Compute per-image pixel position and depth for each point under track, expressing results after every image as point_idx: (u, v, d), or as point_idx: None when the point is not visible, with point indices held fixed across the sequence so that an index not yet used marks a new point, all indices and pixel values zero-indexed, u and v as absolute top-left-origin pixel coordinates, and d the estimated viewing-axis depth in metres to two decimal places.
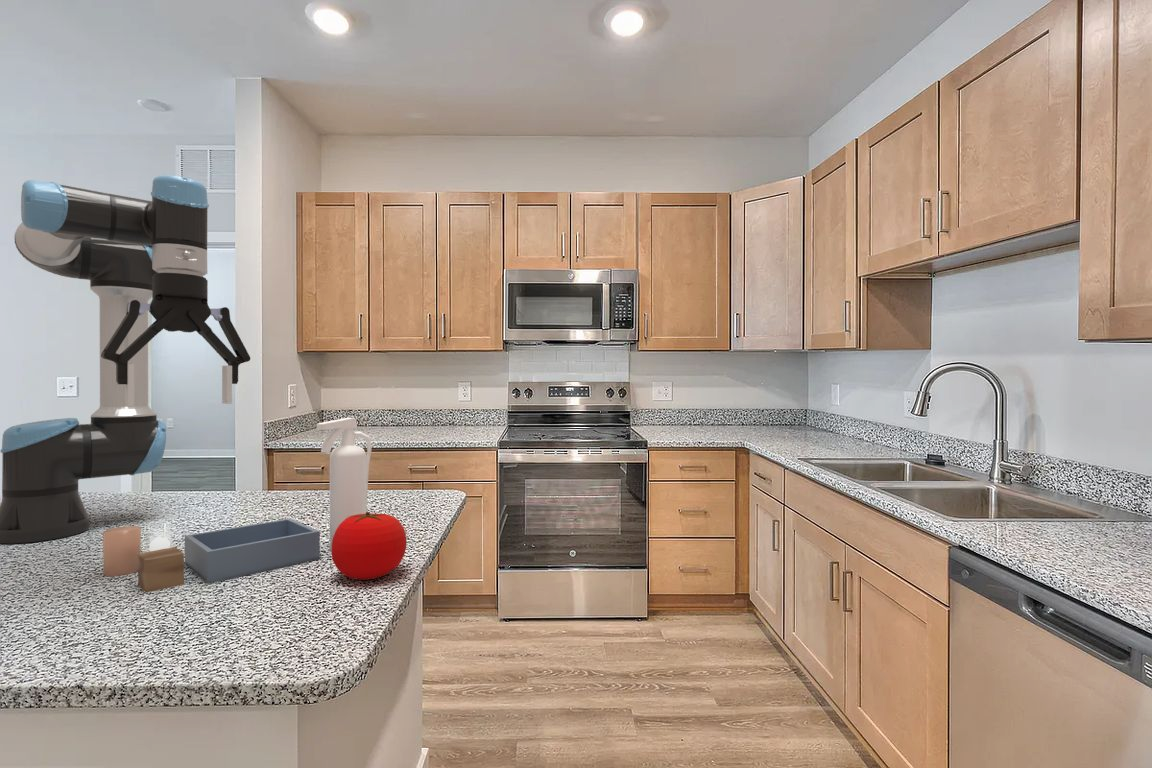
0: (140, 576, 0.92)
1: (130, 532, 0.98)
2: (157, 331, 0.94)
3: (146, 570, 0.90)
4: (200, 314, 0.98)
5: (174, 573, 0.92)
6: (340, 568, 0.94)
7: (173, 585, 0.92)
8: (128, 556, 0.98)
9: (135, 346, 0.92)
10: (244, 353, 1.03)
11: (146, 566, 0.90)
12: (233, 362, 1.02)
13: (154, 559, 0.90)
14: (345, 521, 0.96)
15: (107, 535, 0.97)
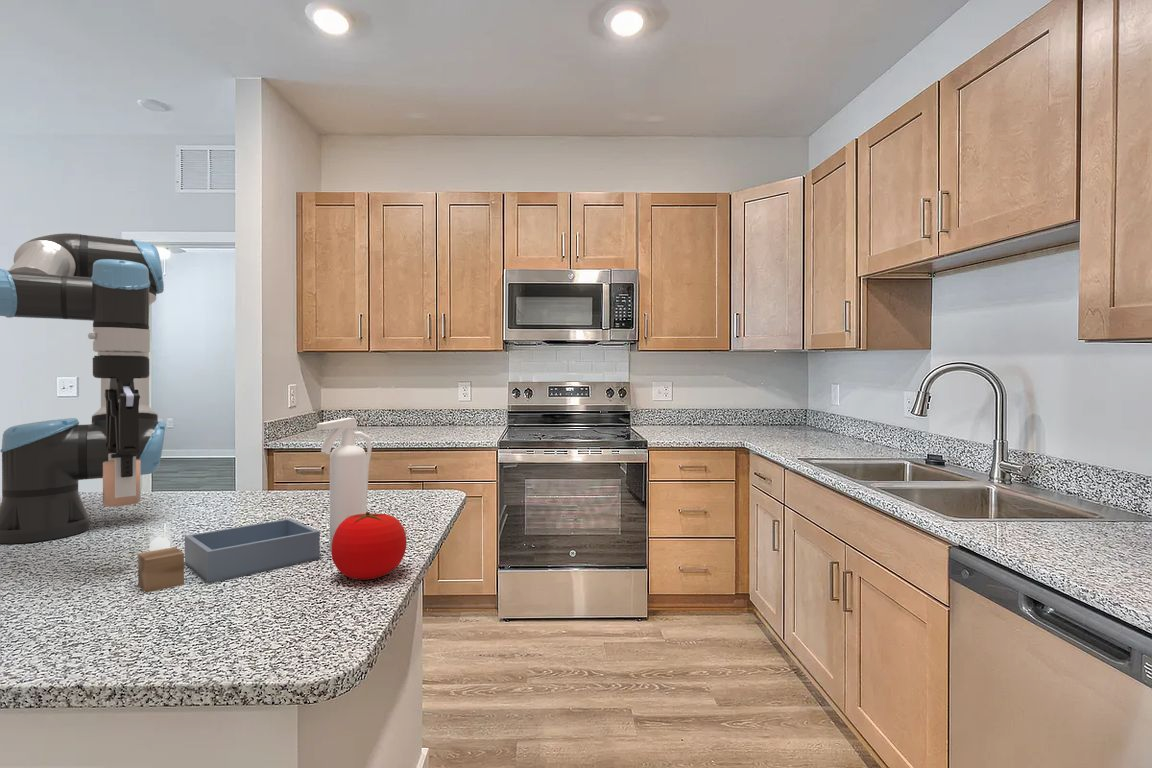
0: (140, 576, 0.92)
1: None
2: (109, 415, 0.99)
3: (146, 570, 0.90)
4: (116, 391, 0.96)
5: (174, 573, 0.92)
6: (340, 568, 0.94)
7: (173, 585, 0.92)
8: None
9: (109, 434, 1.00)
10: (119, 445, 0.94)
11: (146, 566, 0.90)
12: None
13: (154, 559, 0.90)
14: (345, 521, 0.96)
15: (107, 465, 0.97)
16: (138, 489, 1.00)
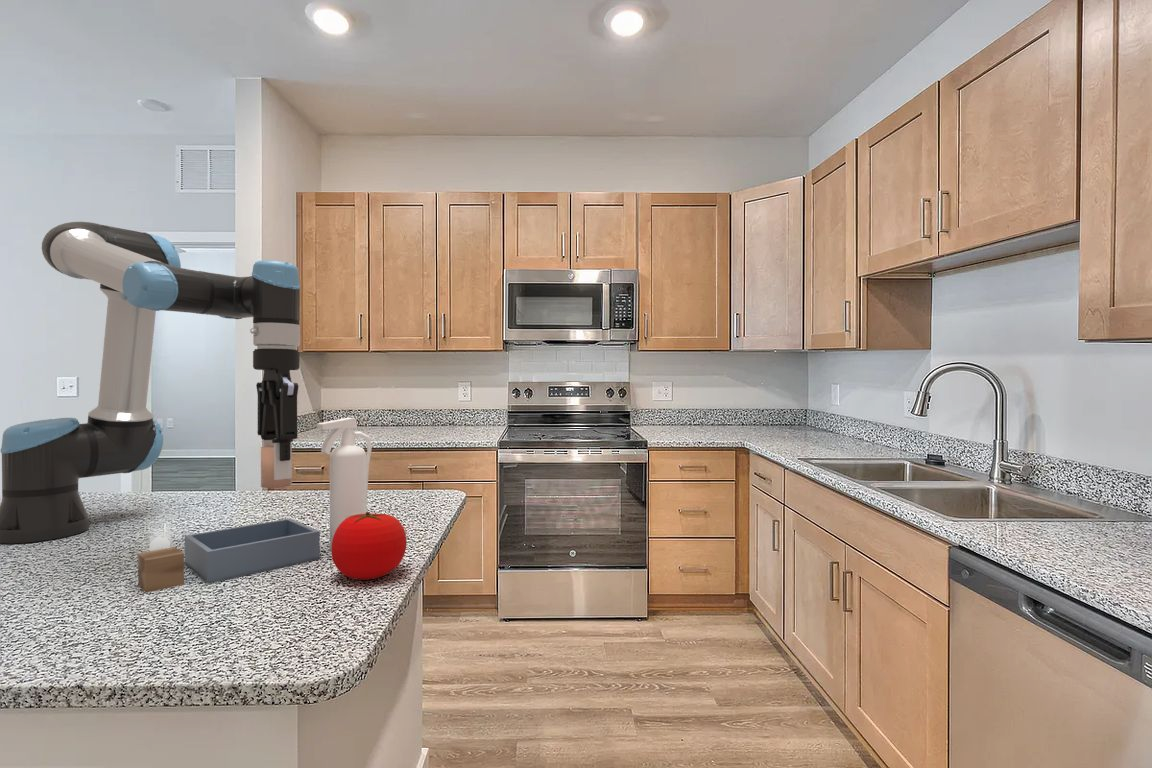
0: (140, 576, 0.92)
1: None
2: (264, 404, 1.07)
3: (146, 570, 0.90)
4: (275, 381, 1.05)
5: (174, 573, 0.92)
6: (340, 568, 0.94)
7: (173, 585, 0.92)
8: None
9: (263, 422, 1.09)
10: (281, 431, 1.02)
11: (146, 566, 0.90)
12: None
13: (154, 559, 0.90)
14: (345, 521, 0.96)
15: (266, 449, 1.05)
16: None
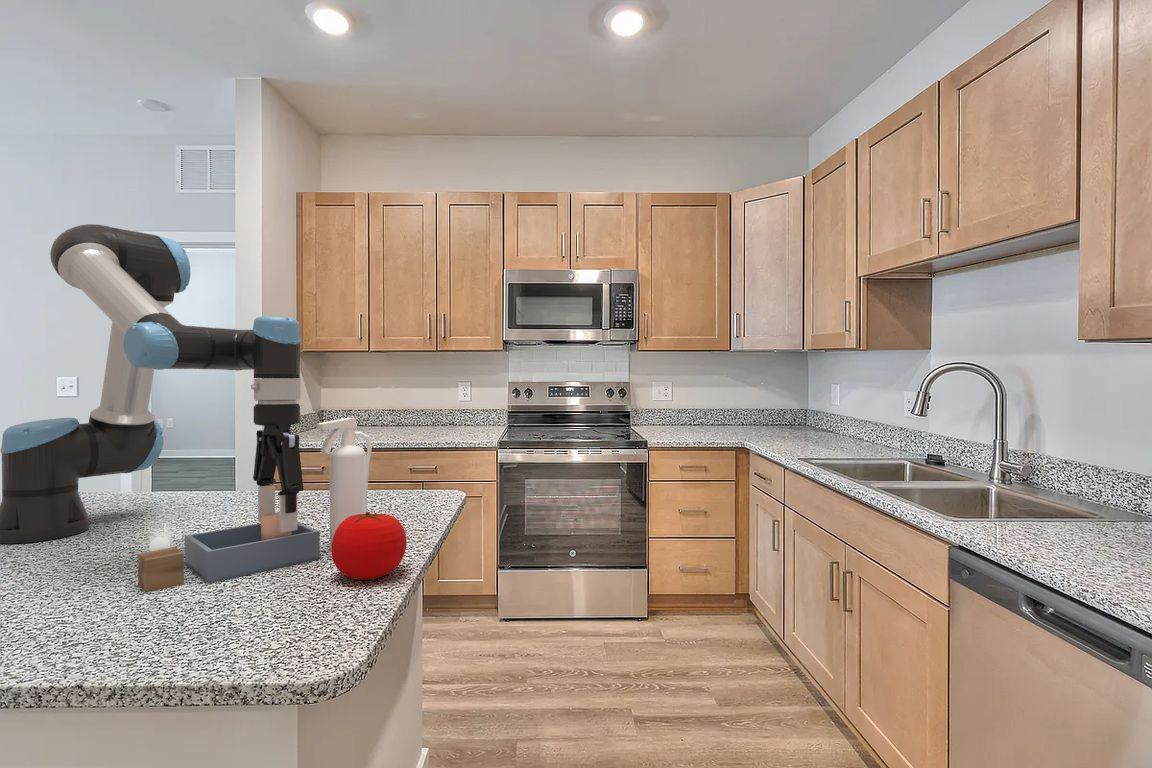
0: (140, 576, 0.92)
1: None
2: (263, 456, 1.08)
3: (146, 570, 0.90)
4: (275, 438, 1.05)
5: (174, 573, 0.92)
6: (340, 569, 0.94)
7: (173, 585, 0.92)
8: None
9: (259, 470, 1.10)
10: (287, 484, 1.01)
11: (146, 566, 0.90)
12: None
13: (154, 559, 0.90)
14: (345, 521, 0.96)
15: (266, 519, 1.05)
16: None
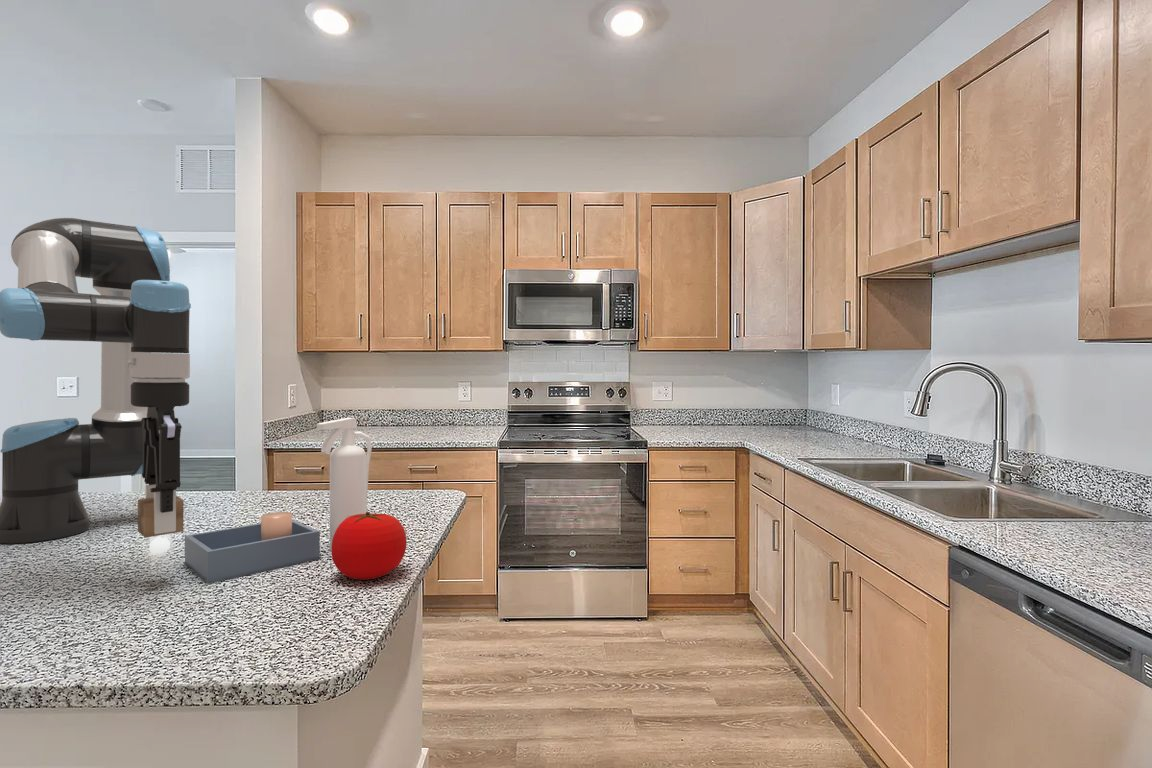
0: (140, 521, 0.92)
1: (285, 517, 1.06)
2: (147, 444, 0.93)
3: (146, 514, 0.90)
4: (155, 420, 0.90)
5: None
6: (340, 568, 0.94)
7: None
8: None
9: (146, 465, 0.94)
10: (160, 479, 0.88)
11: (146, 511, 0.90)
12: (156, 487, 0.90)
13: None
14: (345, 521, 0.96)
15: (266, 519, 1.05)
16: None
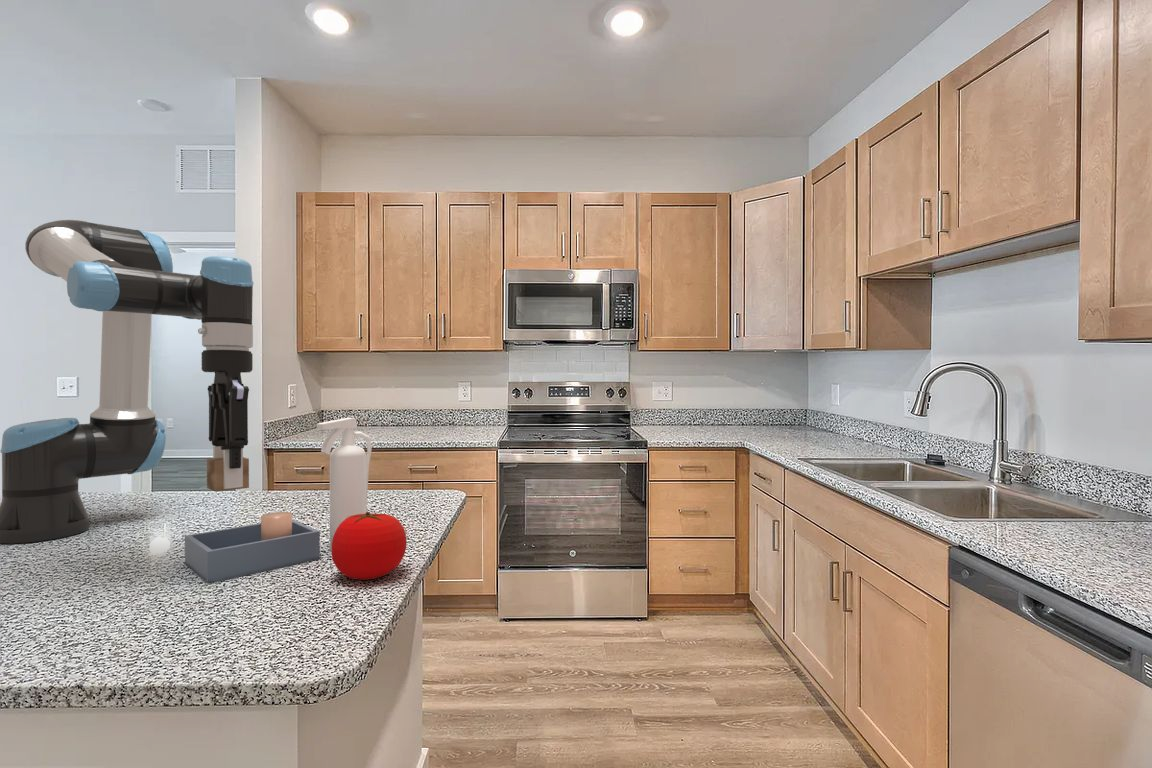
0: (209, 478, 1.00)
1: (285, 517, 1.06)
2: (215, 408, 1.02)
3: (217, 470, 0.98)
4: (224, 385, 0.99)
5: None
6: (340, 568, 0.94)
7: (239, 487, 1.01)
8: None
9: (213, 428, 1.03)
10: (230, 437, 0.97)
11: (217, 467, 0.98)
12: (226, 445, 0.98)
13: (223, 461, 0.99)
14: (345, 521, 0.96)
15: (266, 519, 1.05)
16: None
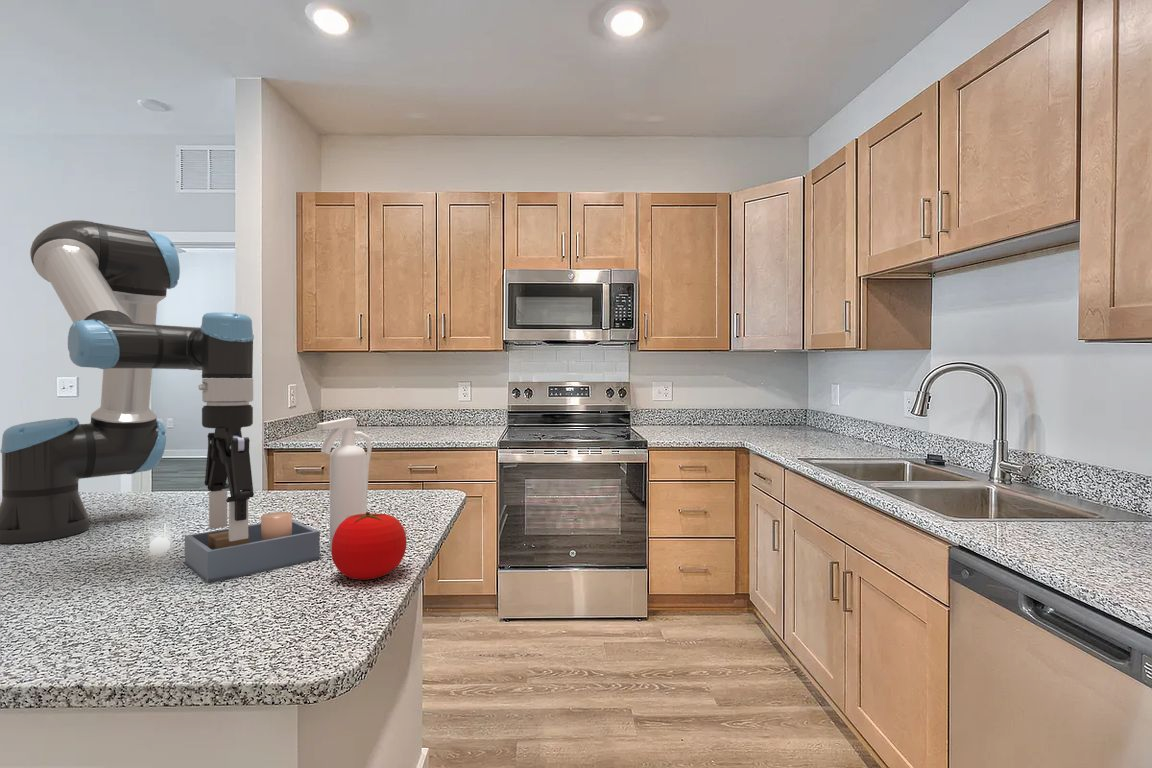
0: None
1: (285, 517, 1.06)
2: None
3: None
4: (225, 442, 0.99)
5: None
6: (340, 568, 0.94)
7: None
8: None
9: (210, 475, 1.04)
10: (235, 489, 0.95)
11: (217, 545, 0.98)
12: None
13: (224, 539, 0.99)
14: (345, 521, 0.96)
15: (266, 519, 1.05)
16: None
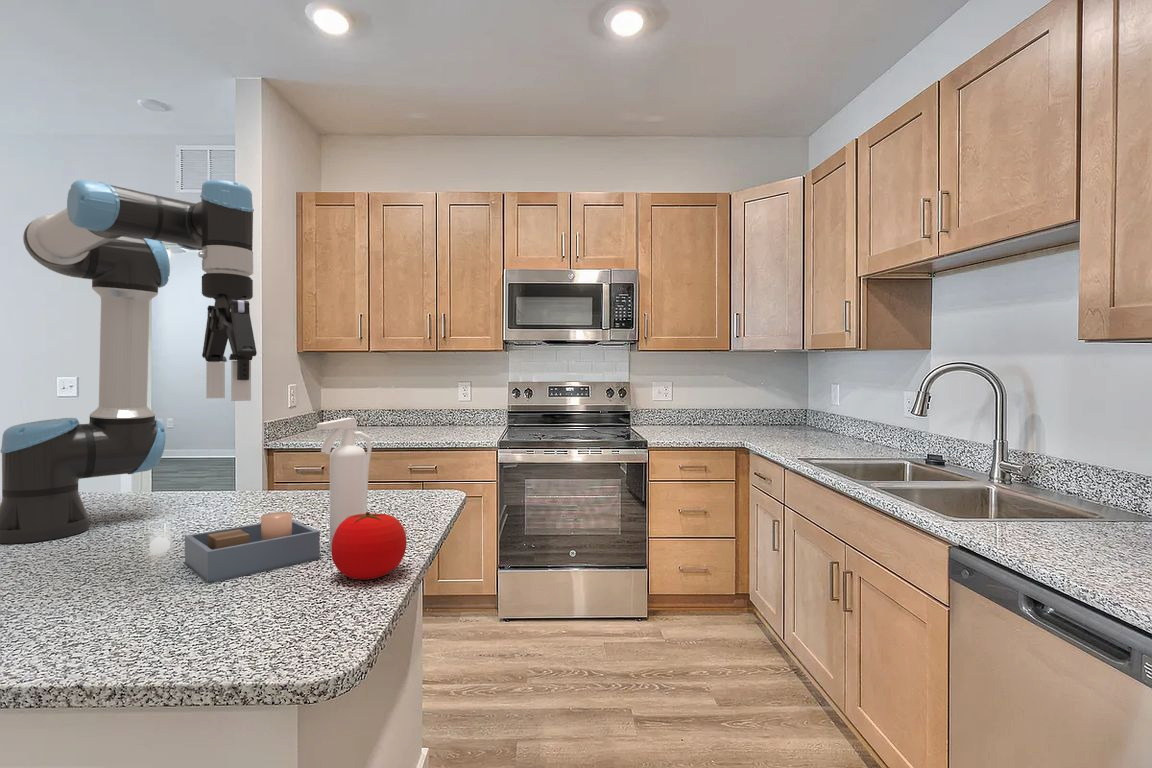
0: None
1: (285, 517, 1.06)
2: (212, 331, 1.03)
3: None
4: (225, 310, 0.99)
5: None
6: (340, 569, 0.94)
7: None
8: None
9: (208, 346, 1.05)
10: (237, 346, 0.94)
11: (217, 545, 0.98)
12: None
13: (224, 539, 0.99)
14: (345, 521, 0.96)
15: (266, 519, 1.05)
16: None
